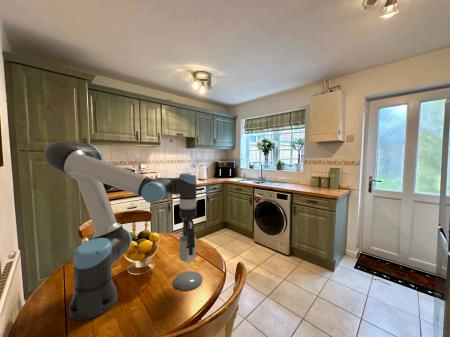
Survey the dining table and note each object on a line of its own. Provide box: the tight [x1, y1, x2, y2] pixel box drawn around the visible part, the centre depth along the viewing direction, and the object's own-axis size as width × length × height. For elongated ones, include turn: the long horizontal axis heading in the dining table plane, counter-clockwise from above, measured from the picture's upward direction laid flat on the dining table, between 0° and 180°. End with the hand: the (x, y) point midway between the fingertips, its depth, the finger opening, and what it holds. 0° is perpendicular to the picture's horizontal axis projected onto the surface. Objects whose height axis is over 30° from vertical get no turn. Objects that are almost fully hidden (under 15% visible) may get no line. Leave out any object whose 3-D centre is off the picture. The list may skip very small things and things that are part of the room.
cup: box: [178, 235, 197, 263], centre depth 87 cm, size 7×10×9 cm
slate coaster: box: [173, 270, 203, 291], centre depth 87 cm, size 13×13×1 cm
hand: (188, 255), depth 87 cm, fingers closed on cup, 10 cm apart
